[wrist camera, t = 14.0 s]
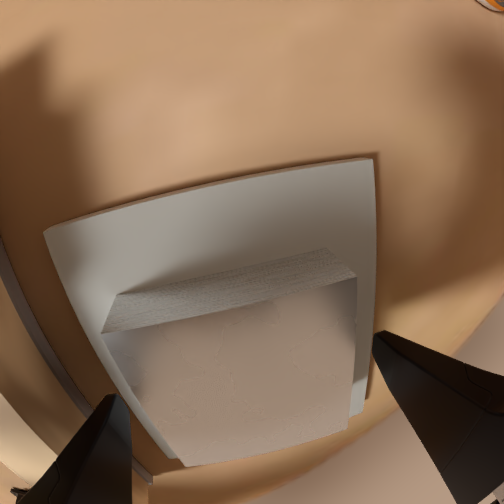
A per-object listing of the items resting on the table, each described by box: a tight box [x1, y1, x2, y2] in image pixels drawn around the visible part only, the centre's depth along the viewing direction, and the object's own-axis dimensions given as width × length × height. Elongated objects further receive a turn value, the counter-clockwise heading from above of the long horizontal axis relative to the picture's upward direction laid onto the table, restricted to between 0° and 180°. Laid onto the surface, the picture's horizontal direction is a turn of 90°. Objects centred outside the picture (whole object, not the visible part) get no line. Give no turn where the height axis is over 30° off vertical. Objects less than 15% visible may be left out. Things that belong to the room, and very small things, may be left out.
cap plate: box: [101, 248, 357, 467], centre depth 9 cm, size 7×6×2 cm
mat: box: [43, 157, 376, 459], centre depth 10 cm, size 12×10×1 cm
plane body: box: [0, 237, 153, 504], centre depth 8 cm, size 20×5×4 cm, turn 10°
